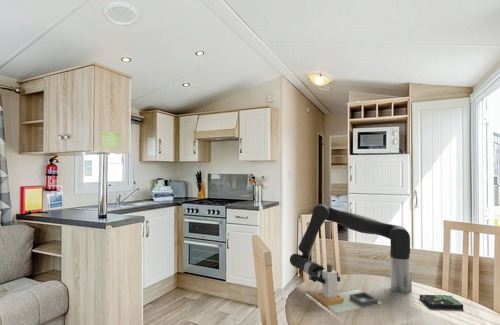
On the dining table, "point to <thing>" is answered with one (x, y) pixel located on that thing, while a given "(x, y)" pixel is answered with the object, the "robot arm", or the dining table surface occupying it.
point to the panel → (349, 301)
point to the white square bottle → (329, 283)
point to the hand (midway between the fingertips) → (332, 280)
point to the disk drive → (441, 302)
